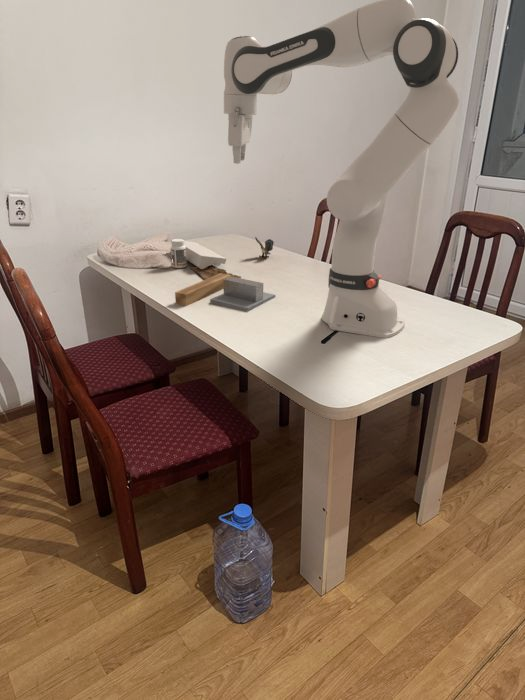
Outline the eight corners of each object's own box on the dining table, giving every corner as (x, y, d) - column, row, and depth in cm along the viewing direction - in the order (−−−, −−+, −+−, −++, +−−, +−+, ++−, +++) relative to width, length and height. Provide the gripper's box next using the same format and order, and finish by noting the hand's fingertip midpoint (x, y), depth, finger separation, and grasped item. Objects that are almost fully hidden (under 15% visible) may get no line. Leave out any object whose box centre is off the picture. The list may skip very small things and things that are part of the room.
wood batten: (230, 286, 171) (230, 275, 169) (186, 307, 152) (185, 294, 150) (221, 284, 173) (220, 273, 171) (175, 304, 154) (175, 292, 152)
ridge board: (275, 298, 159) (275, 279, 157) (248, 312, 148) (248, 291, 145) (238, 290, 166) (238, 271, 164) (210, 302, 155) (209, 283, 152)
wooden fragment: (247, 280, 174) (247, 277, 174) (221, 289, 168) (221, 286, 168) (207, 264, 193) (206, 261, 192) (182, 271, 187) (181, 268, 186)
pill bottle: (188, 264, 194) (187, 238, 189) (184, 268, 188) (183, 242, 184) (174, 264, 194) (172, 238, 190) (169, 268, 189) (168, 241, 185)
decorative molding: (193, 253, 216) (171, 250, 212) (195, 242, 215) (172, 239, 210) (224, 271, 188) (199, 268, 184) (226, 258, 187) (201, 255, 182)
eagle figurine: (253, 261, 200) (253, 238, 196) (254, 256, 206) (255, 234, 202) (273, 261, 199) (273, 238, 196) (273, 257, 206) (274, 234, 202)
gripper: (247, 107, 127) (246, 165, 133) (255, 107, 146) (254, 159, 152) (222, 106, 128) (222, 164, 134) (233, 107, 146) (233, 158, 152)
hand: (239, 161), depth 143 cm, fingers open, 8 cm apart
